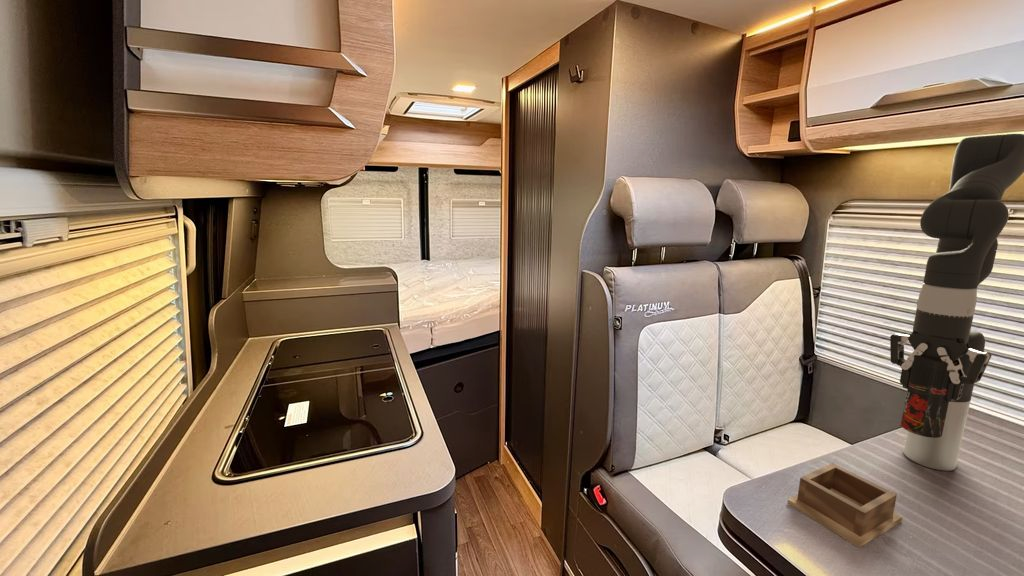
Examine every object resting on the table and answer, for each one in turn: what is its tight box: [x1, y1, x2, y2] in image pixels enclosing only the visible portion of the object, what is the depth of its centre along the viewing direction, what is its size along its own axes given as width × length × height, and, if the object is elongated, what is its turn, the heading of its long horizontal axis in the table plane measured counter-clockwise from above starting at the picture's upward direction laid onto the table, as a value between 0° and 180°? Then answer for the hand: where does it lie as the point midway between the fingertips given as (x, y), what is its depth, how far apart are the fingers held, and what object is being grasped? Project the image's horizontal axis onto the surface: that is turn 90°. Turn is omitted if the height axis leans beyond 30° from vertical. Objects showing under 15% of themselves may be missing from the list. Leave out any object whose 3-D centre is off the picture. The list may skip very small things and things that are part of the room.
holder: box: [787, 462, 903, 549], centre depth 86 cm, size 15×13×6 cm
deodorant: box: [900, 355, 958, 438], centre depth 83 cm, size 6×6×15 cm
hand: (927, 393), depth 83 cm, fingers closed on deodorant, 6 cm apart
